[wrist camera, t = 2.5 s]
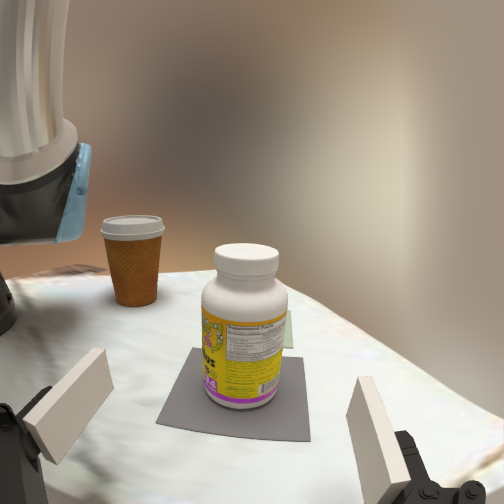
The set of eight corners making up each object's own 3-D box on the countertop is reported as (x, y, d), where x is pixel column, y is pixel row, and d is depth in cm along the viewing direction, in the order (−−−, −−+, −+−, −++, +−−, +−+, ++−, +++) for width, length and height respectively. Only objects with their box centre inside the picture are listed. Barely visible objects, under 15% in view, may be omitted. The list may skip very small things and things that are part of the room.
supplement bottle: (205, 366, 28) (205, 238, 25) (272, 367, 29) (284, 241, 26) (201, 412, 22) (196, 261, 19) (282, 412, 22) (301, 264, 19)
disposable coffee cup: (175, 306, 42) (173, 222, 39) (110, 315, 37) (102, 227, 34) (157, 284, 49) (156, 213, 46) (103, 291, 44) (98, 217, 41)
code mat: (155, 423, 20) (155, 422, 20) (192, 348, 32) (192, 347, 31) (310, 441, 19) (310, 440, 19) (302, 358, 31) (303, 357, 31)
